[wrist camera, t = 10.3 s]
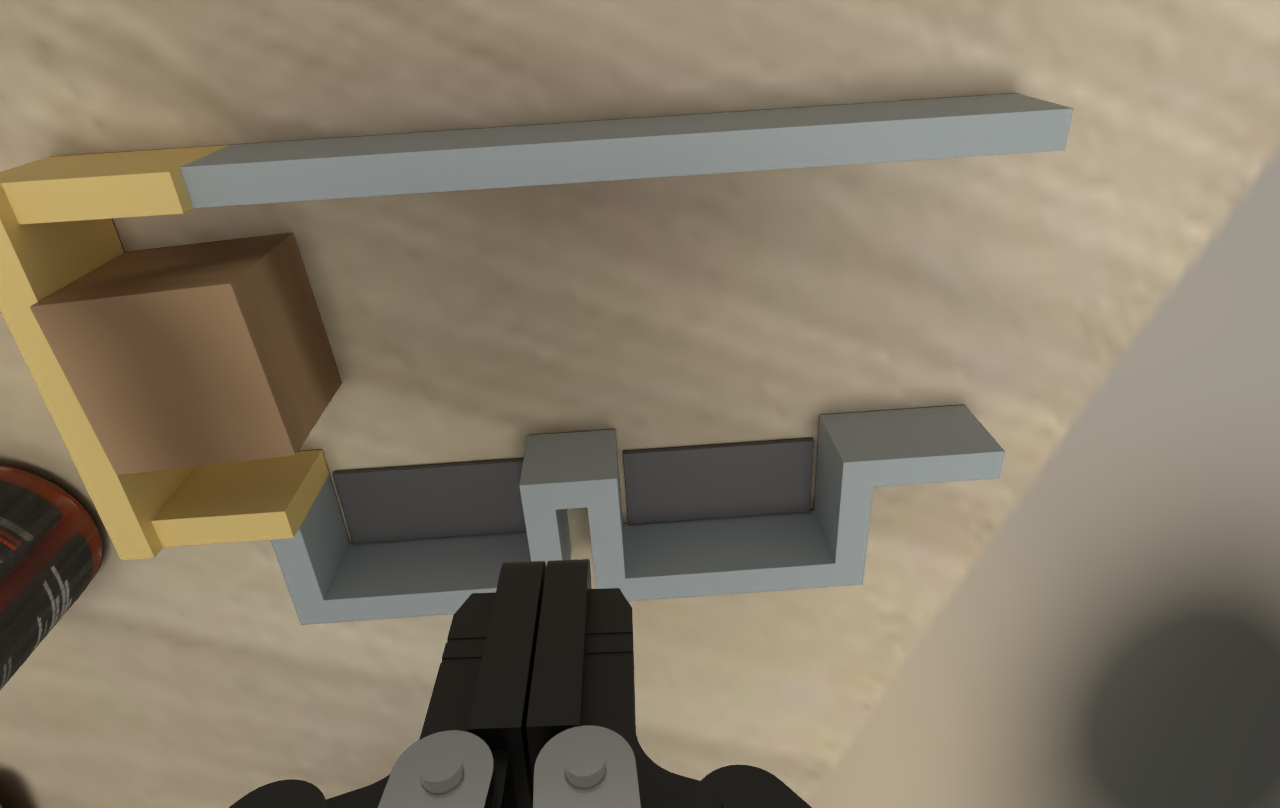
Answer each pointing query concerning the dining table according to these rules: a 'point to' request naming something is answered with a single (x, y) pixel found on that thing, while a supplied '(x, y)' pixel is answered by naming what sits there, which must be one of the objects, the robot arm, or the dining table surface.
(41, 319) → the walnut block
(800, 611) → the dining table surface
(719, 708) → the dining table surface
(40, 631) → the supplement bottle
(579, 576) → the robot arm
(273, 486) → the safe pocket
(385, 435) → the dining table surface
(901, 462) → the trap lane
